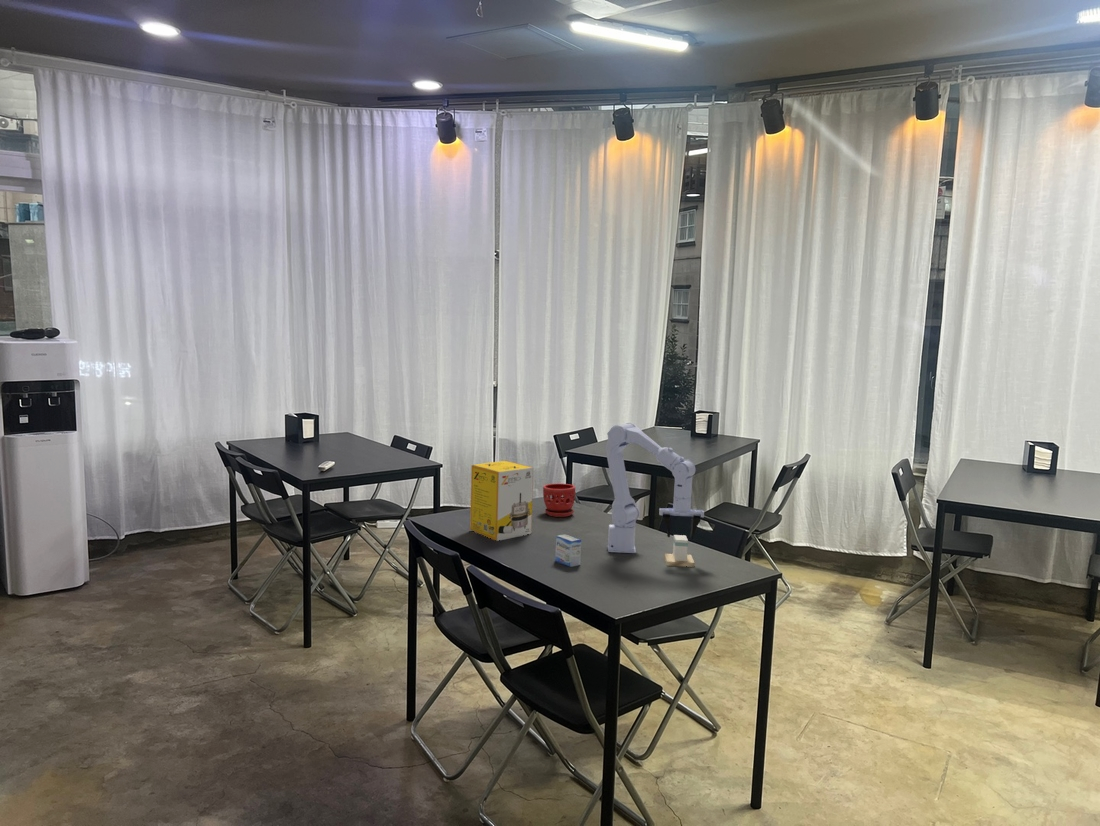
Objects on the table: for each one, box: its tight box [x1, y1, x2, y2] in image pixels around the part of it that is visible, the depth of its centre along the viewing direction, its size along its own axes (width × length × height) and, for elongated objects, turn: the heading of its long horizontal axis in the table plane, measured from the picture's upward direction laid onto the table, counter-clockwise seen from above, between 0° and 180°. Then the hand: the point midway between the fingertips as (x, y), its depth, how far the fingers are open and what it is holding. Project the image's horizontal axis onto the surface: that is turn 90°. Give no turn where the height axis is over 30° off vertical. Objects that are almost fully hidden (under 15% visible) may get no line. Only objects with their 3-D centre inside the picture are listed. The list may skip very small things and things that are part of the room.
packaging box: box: [469, 460, 534, 542], centre depth 293 cm, size 16×16×25 cm
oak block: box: [663, 553, 695, 568], centre depth 265 cm, size 9×9×2 cm
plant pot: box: [542, 483, 576, 518], centre depth 323 cm, size 13×13×12 cm
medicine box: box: [554, 533, 582, 568], centre depth 260 cm, size 8×4×9 cm, turn 40°
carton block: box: [672, 534, 689, 561], centre depth 265 cm, size 4×6×7 cm
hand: (680, 537), depth 264 cm, fingers open, 7 cm apart
